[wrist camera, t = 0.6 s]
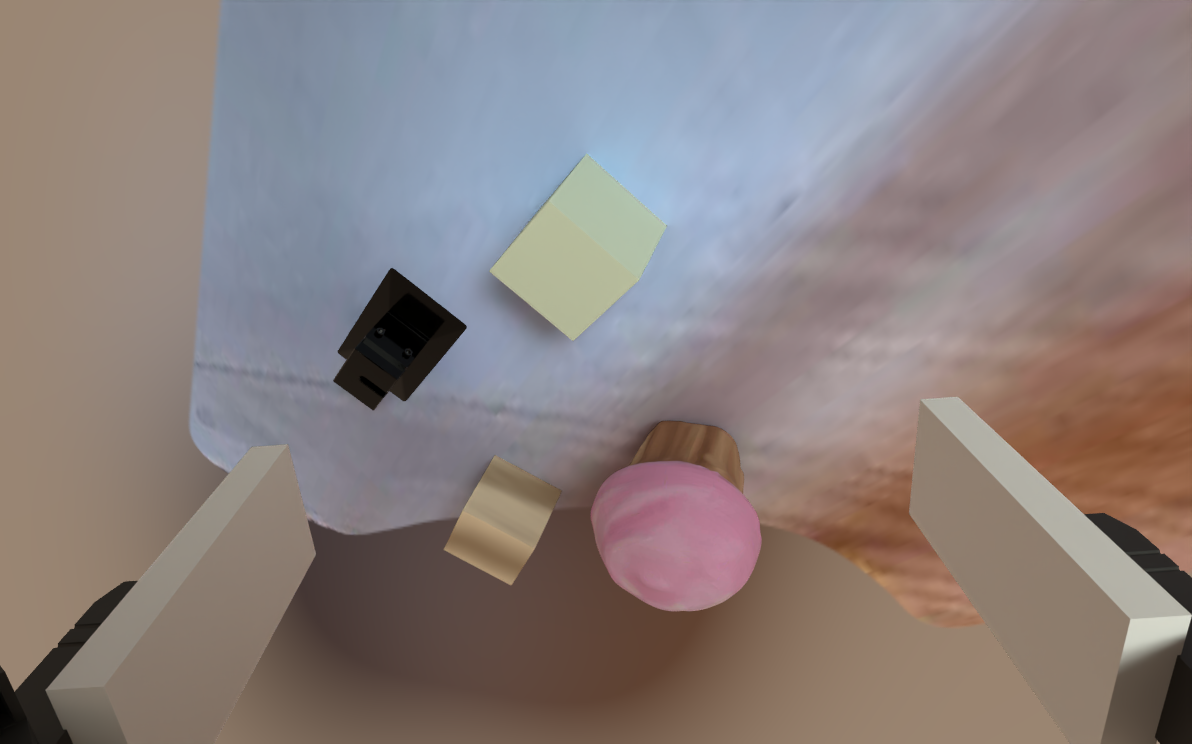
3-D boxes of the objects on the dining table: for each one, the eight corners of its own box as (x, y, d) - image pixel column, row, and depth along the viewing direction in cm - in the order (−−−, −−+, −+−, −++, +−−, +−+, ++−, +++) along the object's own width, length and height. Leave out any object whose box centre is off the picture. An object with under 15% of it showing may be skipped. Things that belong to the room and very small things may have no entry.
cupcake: (613, 387, 44) (551, 519, 36) (767, 387, 40) (734, 533, 33) (645, 498, 49) (597, 633, 41) (785, 506, 45) (759, 655, 38)
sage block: (587, 152, 35) (548, 201, 32) (667, 225, 36) (639, 280, 33) (529, 220, 39) (489, 271, 35) (605, 285, 40) (573, 341, 36)
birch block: (495, 454, 51) (462, 510, 47) (562, 490, 51) (534, 548, 47) (475, 494, 54) (443, 549, 50) (538, 527, 54) (511, 585, 51)
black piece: (410, 415, 52) (374, 463, 49) (319, 349, 51) (276, 393, 47) (497, 314, 44) (460, 363, 40) (391, 231, 42) (345, 275, 39)
